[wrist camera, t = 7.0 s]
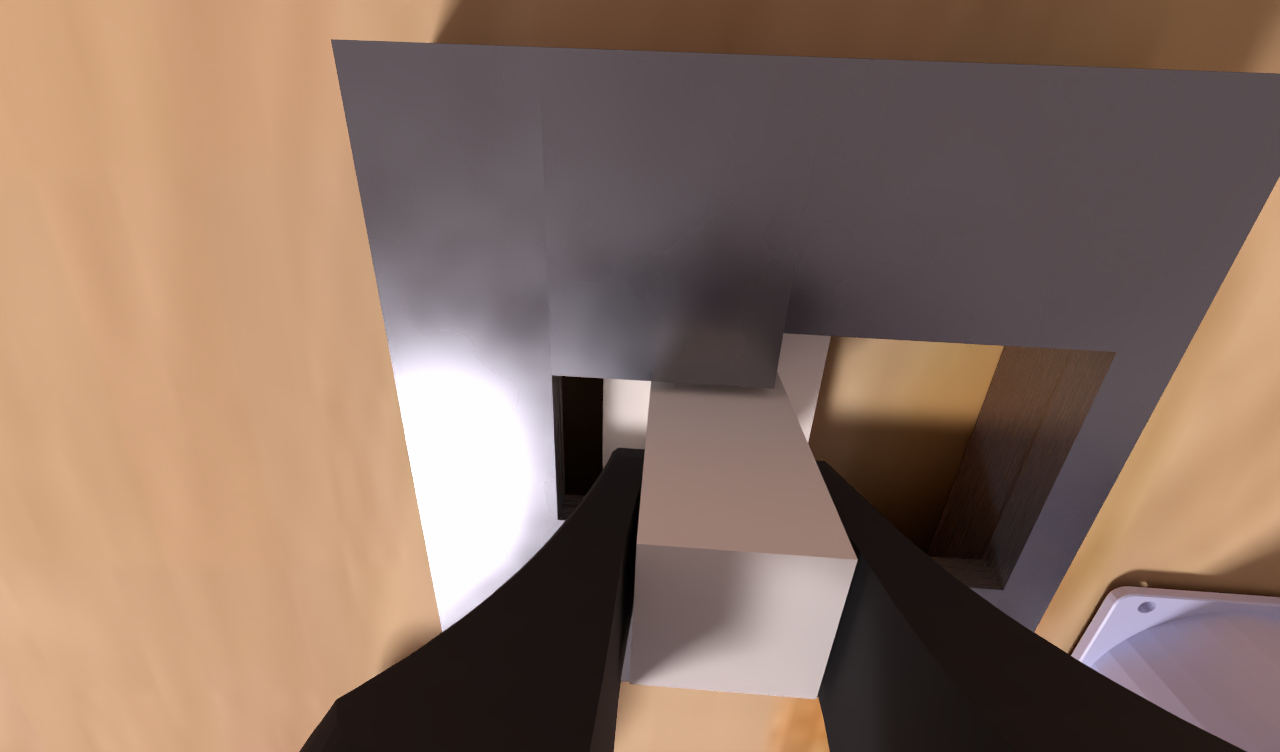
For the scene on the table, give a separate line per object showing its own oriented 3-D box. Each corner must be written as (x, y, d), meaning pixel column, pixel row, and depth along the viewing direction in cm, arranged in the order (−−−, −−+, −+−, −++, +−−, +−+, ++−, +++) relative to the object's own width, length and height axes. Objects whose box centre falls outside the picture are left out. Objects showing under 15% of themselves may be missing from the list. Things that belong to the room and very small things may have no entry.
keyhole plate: (1147, 90, 11) (1333, 75, 8) (936, 610, 18) (991, 711, 15) (422, 63, 12) (330, 39, 9) (486, 576, 19) (448, 666, 16)
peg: (818, 299, 14) (982, 491, 6) (785, 470, 16) (876, 751, 9) (610, 288, 14) (542, 462, 7) (608, 459, 16) (555, 724, 9)
